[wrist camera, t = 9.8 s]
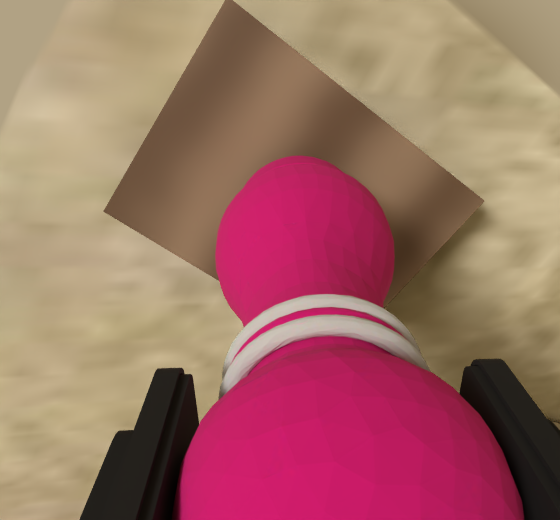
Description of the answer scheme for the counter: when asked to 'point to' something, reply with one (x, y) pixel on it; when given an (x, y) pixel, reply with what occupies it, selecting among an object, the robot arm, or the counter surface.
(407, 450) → the pepper mill
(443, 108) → the counter surface
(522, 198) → the counter surface
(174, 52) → the counter surface
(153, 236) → the walnut base
